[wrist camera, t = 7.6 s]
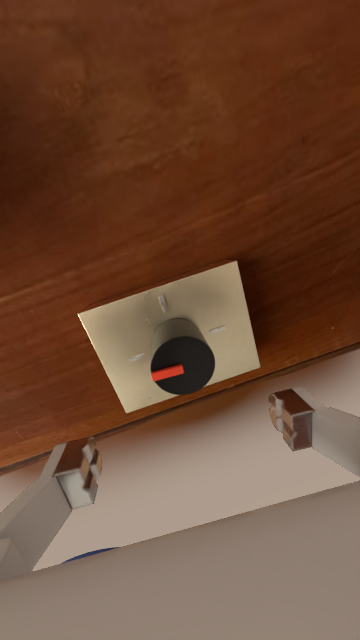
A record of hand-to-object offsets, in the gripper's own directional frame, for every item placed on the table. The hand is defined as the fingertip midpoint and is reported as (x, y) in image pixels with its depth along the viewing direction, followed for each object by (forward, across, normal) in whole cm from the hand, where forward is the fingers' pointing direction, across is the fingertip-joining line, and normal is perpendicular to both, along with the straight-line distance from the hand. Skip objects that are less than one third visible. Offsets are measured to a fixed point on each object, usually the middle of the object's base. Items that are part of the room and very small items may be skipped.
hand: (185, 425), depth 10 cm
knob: (+9, +1, 0) cm, 9 cm away
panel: (+12, +1, 0) cm, 12 cm away
